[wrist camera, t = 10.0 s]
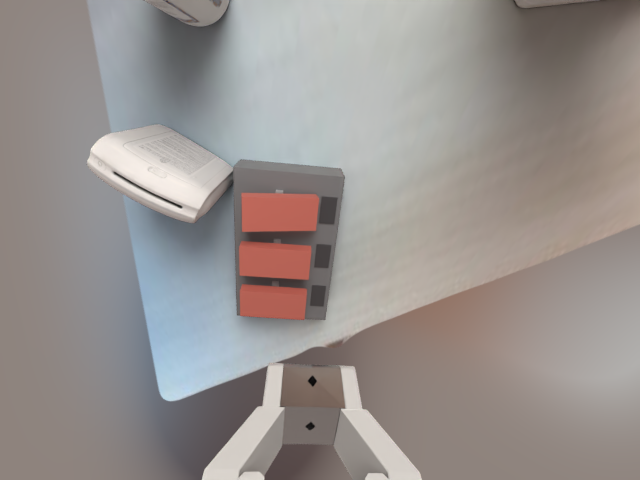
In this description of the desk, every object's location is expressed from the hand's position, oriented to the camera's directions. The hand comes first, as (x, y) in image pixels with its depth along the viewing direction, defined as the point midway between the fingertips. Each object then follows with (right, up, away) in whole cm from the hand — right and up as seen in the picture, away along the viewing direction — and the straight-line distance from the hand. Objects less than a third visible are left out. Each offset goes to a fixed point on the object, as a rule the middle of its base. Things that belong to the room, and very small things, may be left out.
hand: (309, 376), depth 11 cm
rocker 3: (-5, -2, +28) cm, 29 cm away
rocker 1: (-4, +8, +23) cm, 25 cm away
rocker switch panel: (-4, +5, +30) cm, 30 cm away
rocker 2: (-5, +3, +26) cm, 26 cm away
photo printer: (-15, +14, +25) cm, 32 cm away
